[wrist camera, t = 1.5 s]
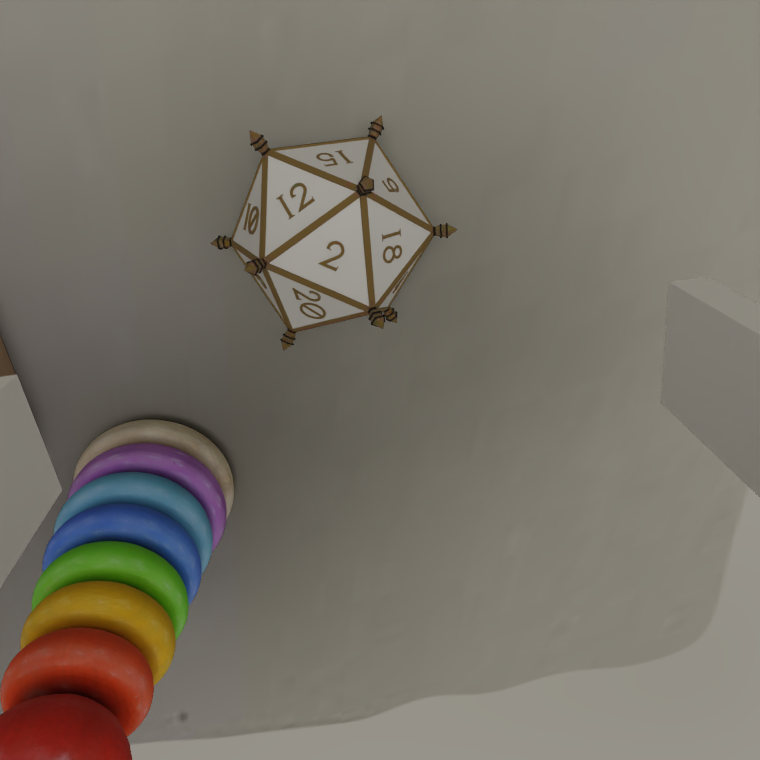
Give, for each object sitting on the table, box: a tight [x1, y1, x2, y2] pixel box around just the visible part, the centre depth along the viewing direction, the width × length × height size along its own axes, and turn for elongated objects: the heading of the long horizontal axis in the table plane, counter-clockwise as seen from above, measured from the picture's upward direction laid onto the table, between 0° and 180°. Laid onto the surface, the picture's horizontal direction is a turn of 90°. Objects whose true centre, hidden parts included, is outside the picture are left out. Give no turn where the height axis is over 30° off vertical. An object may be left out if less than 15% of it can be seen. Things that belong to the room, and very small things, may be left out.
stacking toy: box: [0, 419, 234, 760], centre depth 26 cm, size 8×8×19 cm
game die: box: [211, 116, 457, 351], centre depth 26 cm, size 9×8×10 cm
